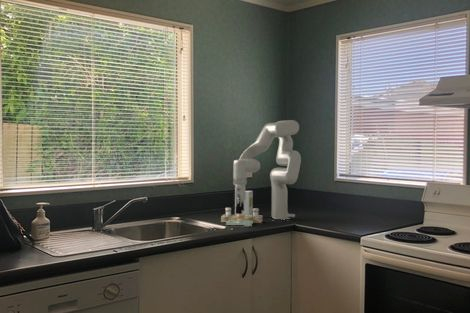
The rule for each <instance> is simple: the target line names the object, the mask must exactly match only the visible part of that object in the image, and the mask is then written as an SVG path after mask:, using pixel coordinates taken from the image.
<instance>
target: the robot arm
mask: <svg viewBox="0 0 470 313" xmlns="http://www.w3.org/2000/svg"><path fill="white" fill-rule="evenodd" d="M299 130H300V124H299V123H298V121H296V120H293V119H289V120H277V121H276V122H269V123H266V124H265V125H264V126H263V127H262V129H261V131H260V133H259V135H258V136H257V138H256V139H255V141H254V142H253V143H252V144H251V145H250V146H249V147H247V148H246V149H245V150H244V151H243V152H242V154H241V155H240V157H239V159H235V160H233V164H232V166H233V167H232V169H233V172H232V174H233V175H232V179H233V180H232V181H233V182H232V184H233V185H234V203H235V202H236V214H241V213H242V210H243V211H244V202H245V201H246V195H245V191H246V185H247V183H248V182H247V181H248V180H247V179H248V176H247V175H248V173H256V172H259V170H260V169H261V163H260V161H259V160H257V159H255V157H256V156H258V155H260V154H263V153H264V152H266V151H268V149H269V148H270V146H271V144H272V142H273V141H274V139H275V138H278V147H277V151H276V152H277V153H276V156H275V157H276V158H275V162H276V164H277V165H278V166H281V167H274V168H273V169H272V170H271V171H270V173H269V179H270V183H271V217H272V218H274V219H281V220H282V219H283V220H285V219H290V220H291V218H295V217H296V214H295V213H294V214H293V213H289V212H288V194H289V192H288V187H287V185H294V184H295V183H296V182H297V181H298V177H299V173H300V168H301V163H302V157H301V154H300V153H299V151H297V150H293V147H294V140H293V138H292V136H294V135H296V134H297V133H298V132H299Z"/></svg>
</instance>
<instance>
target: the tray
mask: <svg viewBox="0 0 470 313" xmlns="http://www.w3.org/2000/svg"><path fill="white" fill-rule="evenodd" d="M242 221H243V220H242ZM252 224H253V221H243V223H237V220H228V221H227V222H226V223H225V226H226V225H244V226H243V227H249V226H251V227H252V226H253V225H254V224H253V225H252Z"/></svg>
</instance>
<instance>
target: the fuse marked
mask: <svg viewBox="0 0 470 313" xmlns="http://www.w3.org/2000/svg"><path fill="white" fill-rule="evenodd" d="M242 214H243V210H242V213H241V214H237V223H243V221H242Z"/></svg>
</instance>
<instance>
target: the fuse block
mask: <svg viewBox="0 0 470 313" xmlns="http://www.w3.org/2000/svg"><path fill="white" fill-rule="evenodd" d="M263 218H264V217H263V215H259V214H258V217H253V215H242V220H243V221H253V223H261V222H262V223H263V220H264V219H263ZM228 220H237V215H235V214H231V216H226V214H222V215H221V217H220V223H221V222H227V221H228ZM262 223H261V224H262Z"/></svg>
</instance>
